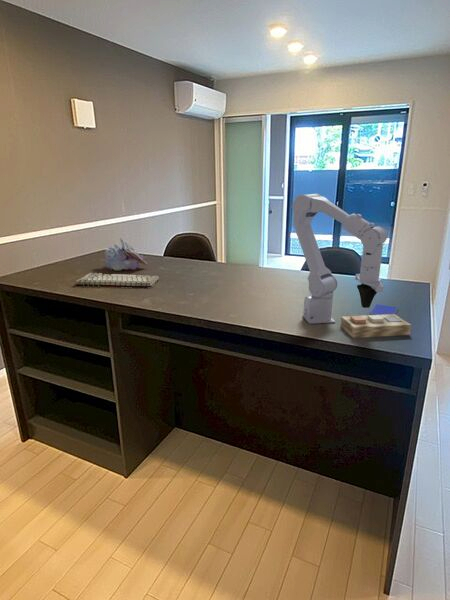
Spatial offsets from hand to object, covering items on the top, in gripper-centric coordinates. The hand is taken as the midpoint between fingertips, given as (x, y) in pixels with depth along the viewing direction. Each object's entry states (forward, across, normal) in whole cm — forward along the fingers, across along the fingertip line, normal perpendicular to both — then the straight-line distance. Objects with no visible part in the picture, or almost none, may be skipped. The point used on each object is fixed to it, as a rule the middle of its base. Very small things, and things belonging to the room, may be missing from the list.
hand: (365, 307), depth 125 cm
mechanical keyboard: (+10, +73, +88) cm, 115 cm away
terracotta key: (+6, 0, +2) cm, 6 cm away
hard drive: (+9, +16, -16) cm, 24 cm away
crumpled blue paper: (+9, +103, +88) cm, 136 cm away
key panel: (+8, 0, -4) cm, 9 cm away
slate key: (+7, 0, -10) cm, 12 cm away
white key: (+6, 0, -4) cm, 7 cm away
